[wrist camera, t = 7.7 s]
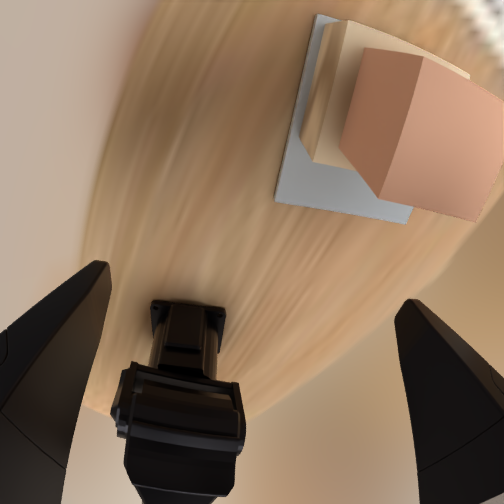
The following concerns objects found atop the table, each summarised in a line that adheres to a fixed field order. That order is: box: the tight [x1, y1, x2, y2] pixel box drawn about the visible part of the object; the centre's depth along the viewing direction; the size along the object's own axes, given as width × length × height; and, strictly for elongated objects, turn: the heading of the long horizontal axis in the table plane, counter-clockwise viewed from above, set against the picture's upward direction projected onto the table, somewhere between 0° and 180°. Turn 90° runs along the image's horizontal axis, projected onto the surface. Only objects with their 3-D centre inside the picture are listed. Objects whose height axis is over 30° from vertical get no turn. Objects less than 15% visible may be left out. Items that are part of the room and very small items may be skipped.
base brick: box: [299, 20, 470, 171], centre depth 14 cm, size 7×7×4 cm
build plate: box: [274, 14, 413, 225], centre depth 17 cm, size 12×10×1 cm
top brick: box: [338, 47, 504, 223], centre depth 11 cm, size 5×5×5 cm
